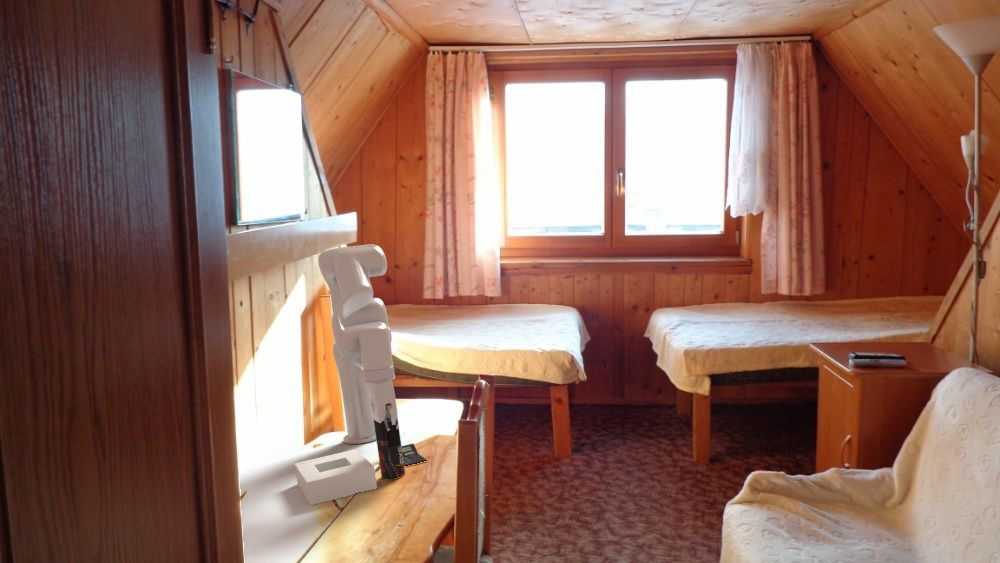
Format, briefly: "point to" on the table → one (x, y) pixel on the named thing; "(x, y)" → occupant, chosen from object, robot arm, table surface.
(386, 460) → the deodorant
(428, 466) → the table surface
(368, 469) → the socket board
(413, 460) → the calculator
